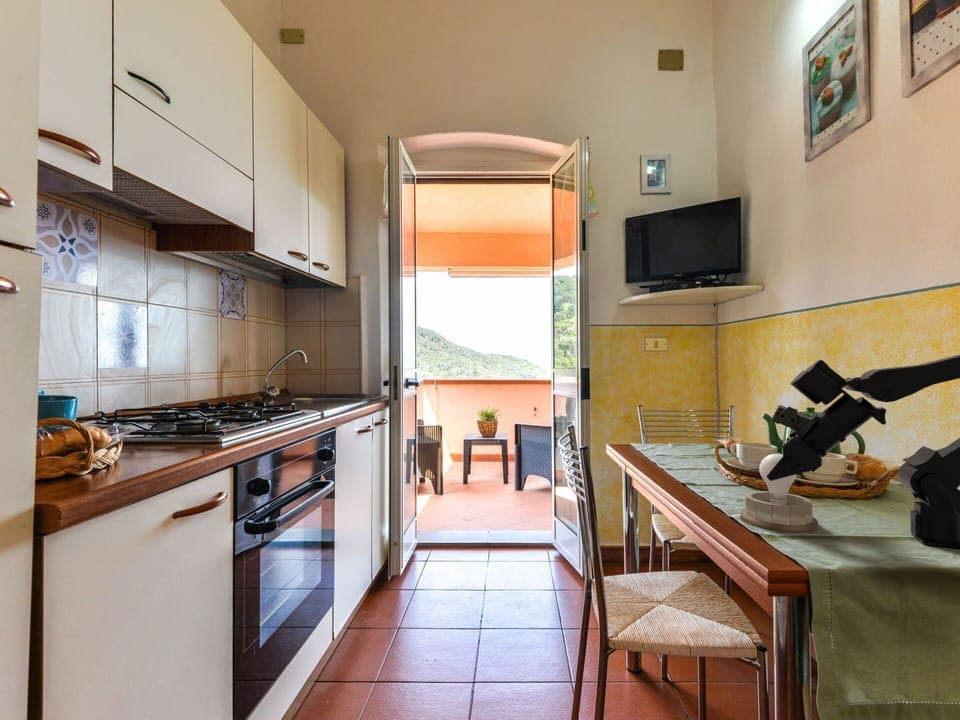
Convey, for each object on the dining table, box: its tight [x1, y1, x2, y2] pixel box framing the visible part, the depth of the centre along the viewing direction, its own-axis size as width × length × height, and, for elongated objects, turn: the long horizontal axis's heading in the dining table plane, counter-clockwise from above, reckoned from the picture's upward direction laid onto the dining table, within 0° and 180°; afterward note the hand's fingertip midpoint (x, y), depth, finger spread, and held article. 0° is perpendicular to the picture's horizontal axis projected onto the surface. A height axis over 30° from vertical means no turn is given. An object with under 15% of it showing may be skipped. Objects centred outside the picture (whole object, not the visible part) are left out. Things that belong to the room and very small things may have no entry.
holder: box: [740, 490, 819, 533], centre depth 98 cm, size 13×13×4 cm
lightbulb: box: [758, 453, 798, 505], centre depth 98 cm, size 6×6×11 cm
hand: (770, 475), depth 99 cm, fingers closed on lightbulb, 6 cm apart
